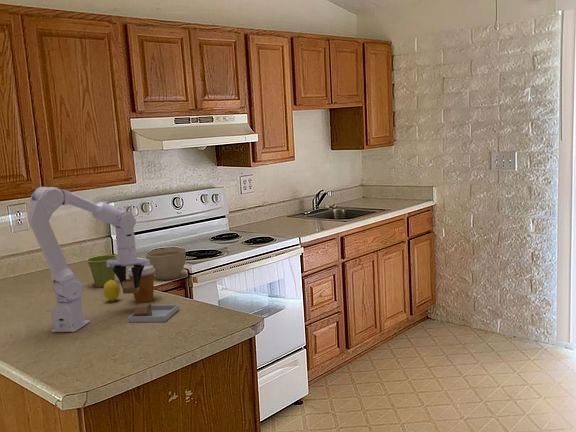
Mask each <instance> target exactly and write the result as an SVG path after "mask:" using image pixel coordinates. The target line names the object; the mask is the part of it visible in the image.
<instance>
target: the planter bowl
mask: <svg viewBox="0 0 576 432" xmlns="http://www.w3.org/2000/svg"><path fill="white" fill-rule="evenodd" d="M186 250H187V249H186V248H183V247H167V248H166V247H165V248H160V249H159V248H158V249H155V250H151V251H149V252H146V253H145V259H150V265H153V267H154V269H155V271H154V276H155V277H156V279H157V280H161V281H169V280H174V279H178V278H180V277H181V272H183V269H184V267H185V264H186V260H187V259H186V258H187V256H186V253H187V251H186Z"/></svg>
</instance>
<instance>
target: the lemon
mask: <svg viewBox="0 0 576 432" xmlns="http://www.w3.org/2000/svg"><path fill="white" fill-rule="evenodd" d="M120 291H121V289H120V285H119V284H118V282H117V281H116V280H114V281H113V280H109V281H108V282H106V283H105V285H104V287H103V294H104V295H103V296H104V297H105V299H107V300H109V301H111V302H114V301H115V300H116V299H118V298H119V296H120Z"/></svg>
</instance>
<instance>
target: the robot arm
mask: <svg viewBox="0 0 576 432" xmlns="http://www.w3.org/2000/svg"><path fill="white" fill-rule="evenodd" d="M29 201H30V205H29V212H28V219H27V220H28V223H29V226H30V227H31V230H32V232H33V234H34V237H35V238H36V241H37V243H38V246H39V247H40V249H41V252H42V254H43V256H44V259H45V261H46V263H47V265H48V268H49V270H50V272H51V274H50V279H51V281H52V291H53V292H54V294H56V299H55V300H56V303H55V305H54V306H52V307H53V308H52V309H51V319H52V327H53V329H51V333H66V332H67V333H70V332H71V333H72V332H77V331H78V330H80V329H81V328H82V327H84V326H86V325H87V324H89V323H90V322H91V320H89V319H88V320H85V316H84V310H83V309H84V307H83V302H82V301H83V300H82V294H83V292H84V288H83V287H84V285H83V284H82V282H81V281H80V280H78V279H77V277H76V276H75V273H73V271H72V270H71V269H70V267H69V266H68V265H69V264H68V262H67V260H66V258H65V256H64V253H63V251H62V249H61V247H60V244H59V242H58V239H57V238H56V234H55V233H54V231H53V228H52V226H51V223H50V219H51V217H52V216H53V214H54V212H56V211H57V210H58V209H59V208H60V207H61V206H68V205H70V206H73V207H76V208H78V209H81V210H84V211H86V212H88V213H89V212H90V213H91V214H92V217H93V218H94V219H96V220H99V221H100V222H104V223H105V224H109V225H112V226H113V227H114V228H115V238H116V247H117V253H118V254H117V258H118V259H116V260H109V261H107V262H106V263H107V267H114V269H113V272H114V273H115V277H117V279H118V281H119V283H120V286H121V287H122V282H123V281H124V280H126V279H127V267H130V268H131V267H132V268H131V270H132V273H133V277H134V285H135V288H138V287H139V285H140V278H141V274H142V271H143V269H144V266H149V265H150V259H147V258H137V250H136V249H137V247H136V239H135V232H134V231H135V230H134V227H135V226H136V223H137V219H136V217H135V216H134V215H133V213H132V212H130V211H125V210H123V208H122V207H116V206H114V205H111V204H110V202H109V201H106V200H104V201H99V202H94V201H91V200H89V199H87V198H85V197H83V196H80V195H78V194H76V193H74V192H72V191H69V190H66V189H61V188H58V187H55V186H52V187H51V186H50V187H49V186H48V187H47V186H39V187H37V188H36V189H35V190H34V192H33V193H32V194H31V196H30V198H29Z"/></svg>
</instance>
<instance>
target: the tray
mask: <svg viewBox="0 0 576 432" xmlns="http://www.w3.org/2000/svg"><path fill="white" fill-rule="evenodd" d="M151 307H152V316H135V312H133V313H131V314H130V315H129V316H128V317H127V318H128V323H130V324H131V323H132V324H133V323H166V322H167V321H168V320H169V319H170V318H172V317H173V316H174V315H175V314H177V313H178V312H179V311H180V304H161V305H160V304H157V305H156V304H154V305H153V304H151Z"/></svg>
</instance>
